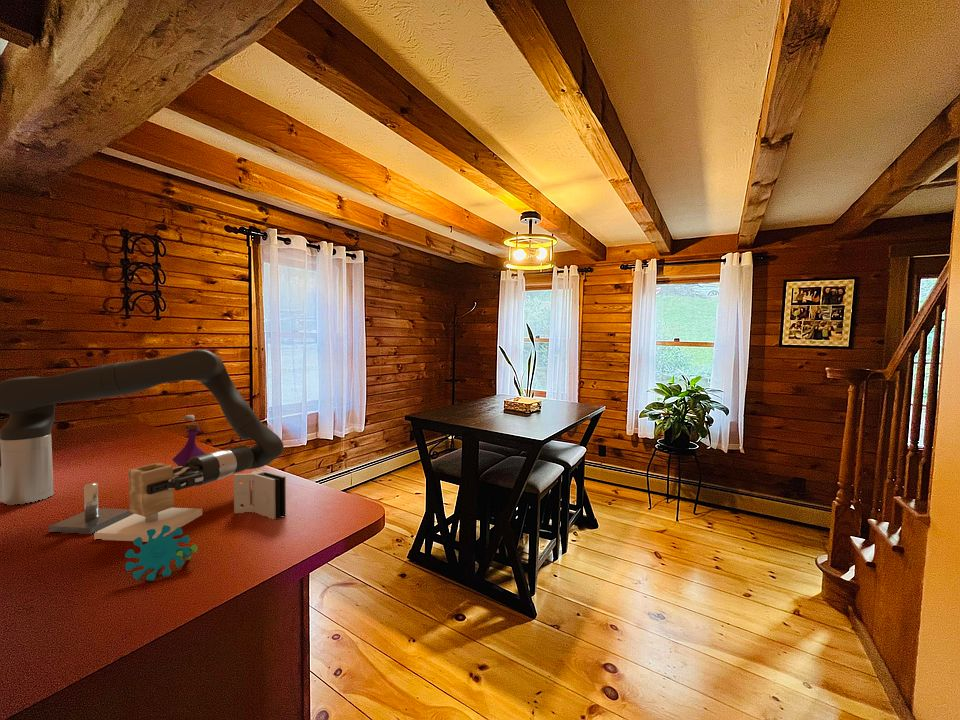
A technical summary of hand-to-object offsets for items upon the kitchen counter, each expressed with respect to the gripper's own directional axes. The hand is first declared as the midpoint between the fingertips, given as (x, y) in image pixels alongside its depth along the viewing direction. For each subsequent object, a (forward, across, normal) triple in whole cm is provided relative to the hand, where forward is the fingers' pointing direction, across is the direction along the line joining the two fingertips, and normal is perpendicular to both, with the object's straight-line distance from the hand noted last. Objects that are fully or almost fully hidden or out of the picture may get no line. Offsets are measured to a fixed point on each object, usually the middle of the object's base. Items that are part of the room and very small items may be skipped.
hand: (139, 487), depth 94 cm
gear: (+8, +22, +10) cm, 26 cm away
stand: (+3, -14, +10) cm, 18 cm away
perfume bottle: (-34, -37, +10) cm, 51 cm away
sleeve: (-2, 0, +6) cm, 6 cm away
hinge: (-18, +17, +10) cm, 27 cm away
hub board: (-2, 0, +10) cm, 10 cm away
